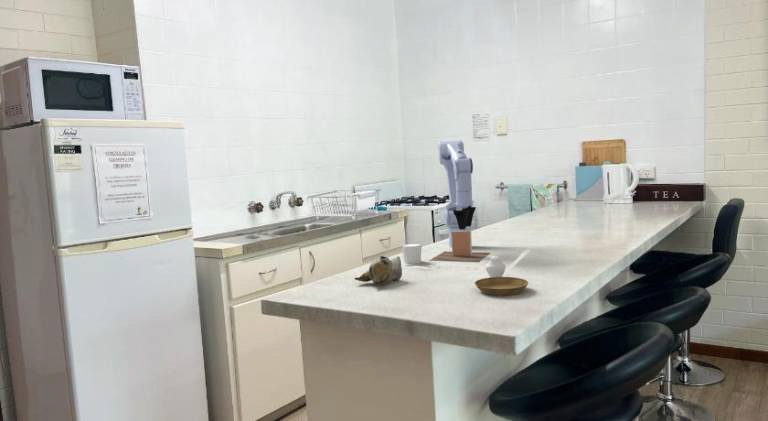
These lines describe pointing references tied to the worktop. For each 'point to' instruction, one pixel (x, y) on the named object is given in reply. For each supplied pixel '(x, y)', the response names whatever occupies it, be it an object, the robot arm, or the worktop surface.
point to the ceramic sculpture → (383, 271)
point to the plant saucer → (501, 285)
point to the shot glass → (412, 253)
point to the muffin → (495, 267)
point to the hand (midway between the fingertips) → (465, 227)
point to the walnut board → (460, 257)
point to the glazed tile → (461, 243)
